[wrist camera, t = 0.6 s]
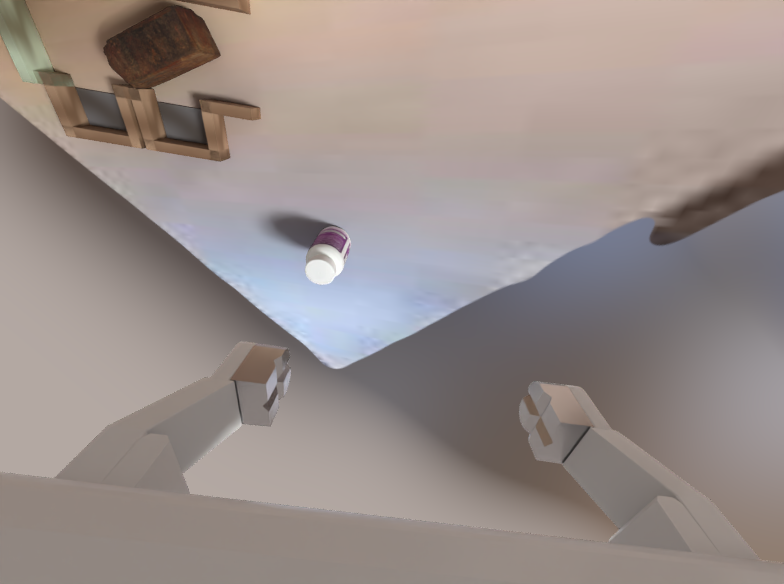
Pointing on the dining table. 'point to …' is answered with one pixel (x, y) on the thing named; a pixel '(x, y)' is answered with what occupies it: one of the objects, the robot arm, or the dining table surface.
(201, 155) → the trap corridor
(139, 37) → the brick
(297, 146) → the dining table surface
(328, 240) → the pill bottle
